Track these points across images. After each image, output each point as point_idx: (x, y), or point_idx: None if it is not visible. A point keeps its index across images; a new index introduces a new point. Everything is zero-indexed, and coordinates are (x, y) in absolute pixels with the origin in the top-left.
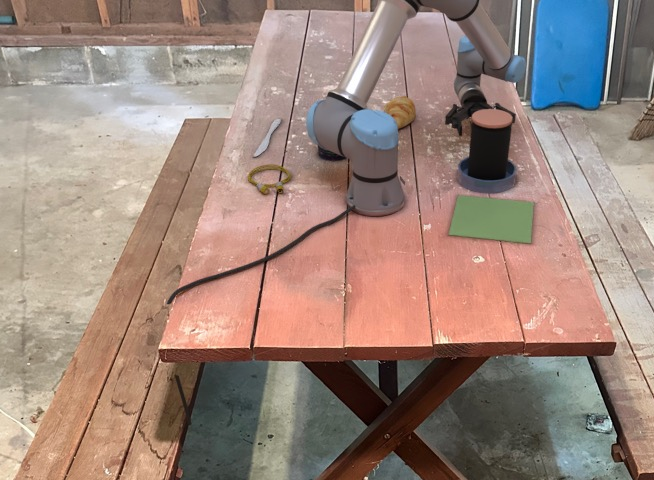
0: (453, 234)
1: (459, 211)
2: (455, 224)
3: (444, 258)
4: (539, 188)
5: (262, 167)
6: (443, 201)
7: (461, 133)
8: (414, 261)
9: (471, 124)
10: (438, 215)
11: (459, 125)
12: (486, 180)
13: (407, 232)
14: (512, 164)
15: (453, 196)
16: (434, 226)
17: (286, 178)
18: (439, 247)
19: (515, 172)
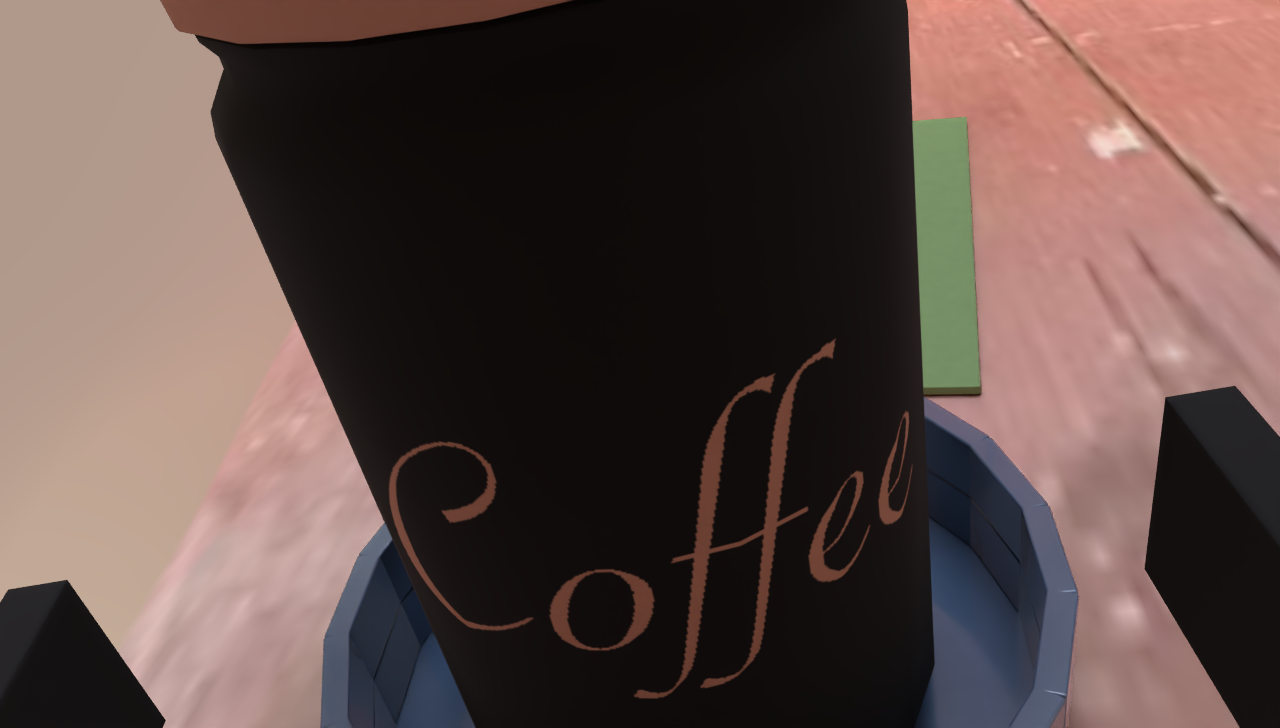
0: (938, 120)
1: (934, 245)
2: (940, 165)
3: (955, 45)
4: (234, 579)
5: None
6: (1091, 324)
7: (1163, 524)
8: (1087, 14)
9: (906, 4)
10: (1077, 213)
11: (1274, 433)
12: None
13: (1215, 97)
14: (348, 671)
15: (1021, 386)
16: (1069, 150)
17: None
18: (995, 72)
19: None
